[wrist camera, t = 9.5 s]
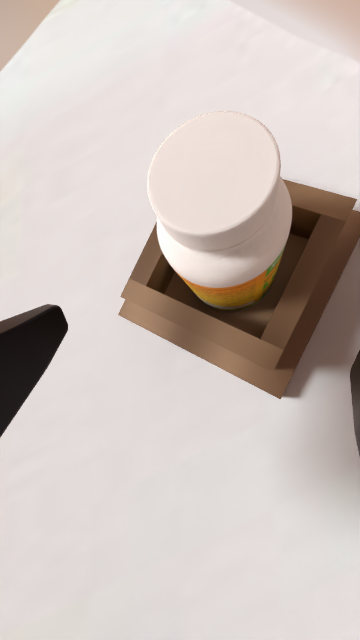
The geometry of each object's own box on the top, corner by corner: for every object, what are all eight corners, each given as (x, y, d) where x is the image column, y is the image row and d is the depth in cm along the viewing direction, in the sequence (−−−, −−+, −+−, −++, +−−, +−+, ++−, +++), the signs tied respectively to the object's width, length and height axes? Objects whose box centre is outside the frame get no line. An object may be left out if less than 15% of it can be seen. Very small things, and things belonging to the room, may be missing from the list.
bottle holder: (363, 223, 16) (397, 182, 12) (278, 396, 16) (287, 409, 12) (194, 173, 20) (180, 130, 16) (124, 316, 20) (94, 307, 16)
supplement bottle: (275, 313, 16) (312, 254, 7) (189, 312, 17) (119, 263, 8) (275, 229, 17) (308, 67, 7) (192, 235, 18) (131, 106, 9)
